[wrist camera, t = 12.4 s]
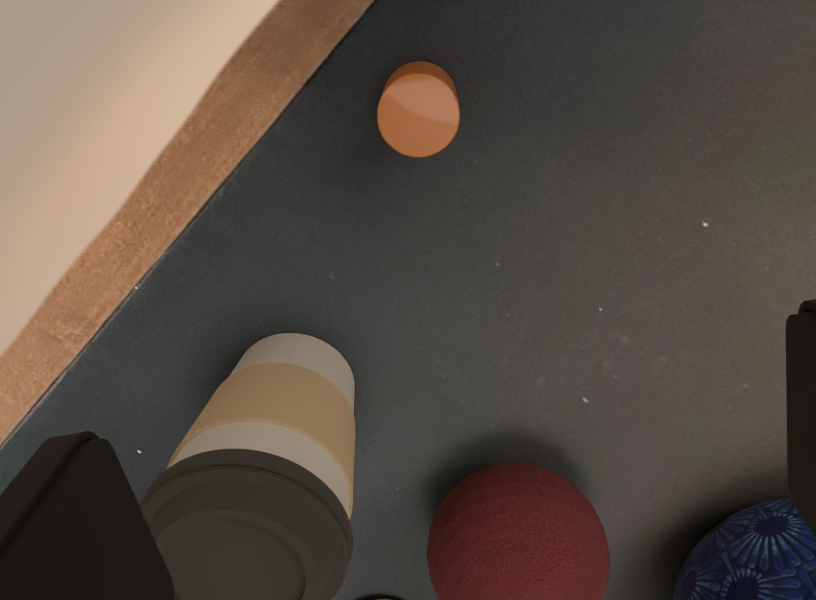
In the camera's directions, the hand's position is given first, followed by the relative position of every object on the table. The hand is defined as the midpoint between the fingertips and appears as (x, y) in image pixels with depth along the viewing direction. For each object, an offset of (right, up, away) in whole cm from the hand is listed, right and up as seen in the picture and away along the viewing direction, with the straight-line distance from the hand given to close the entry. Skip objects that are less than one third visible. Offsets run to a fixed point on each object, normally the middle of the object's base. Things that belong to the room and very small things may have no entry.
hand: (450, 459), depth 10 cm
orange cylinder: (0, +12, +26) cm, 28 cm away
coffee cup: (-7, -3, +33) cm, 33 cm away
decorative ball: (+6, -10, +35) cm, 37 cm away
